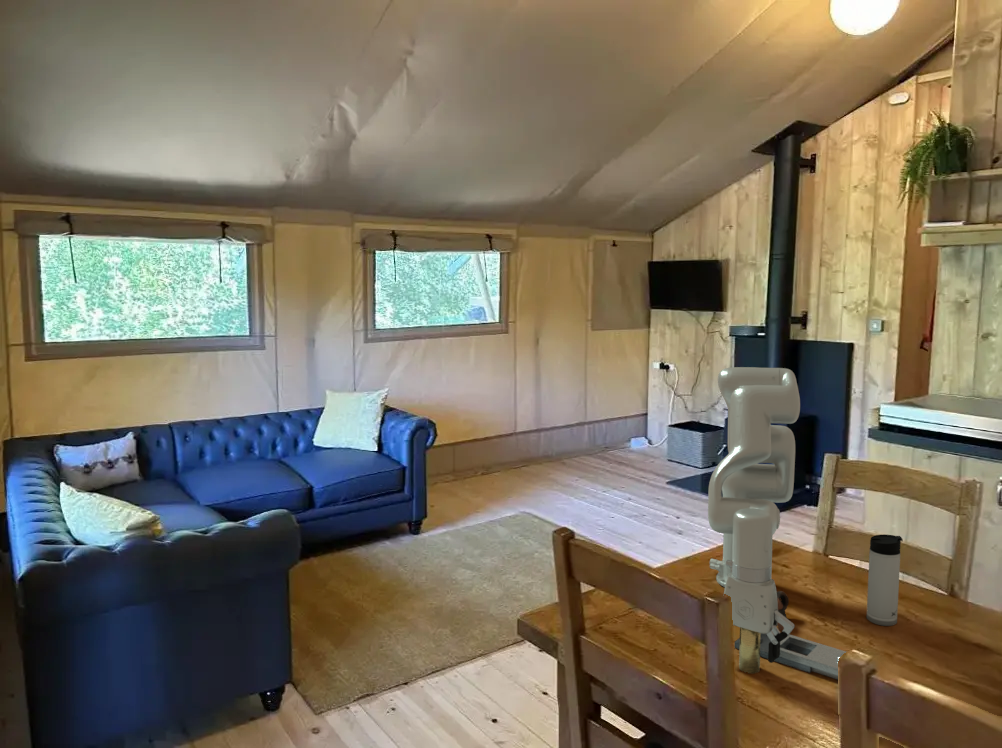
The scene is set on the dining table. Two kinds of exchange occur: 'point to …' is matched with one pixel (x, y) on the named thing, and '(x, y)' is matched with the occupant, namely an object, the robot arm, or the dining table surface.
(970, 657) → the dining table surface
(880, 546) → the travel mug
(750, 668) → the pin
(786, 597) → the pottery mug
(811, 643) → the grey plate with socket
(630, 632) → the dining table surface
